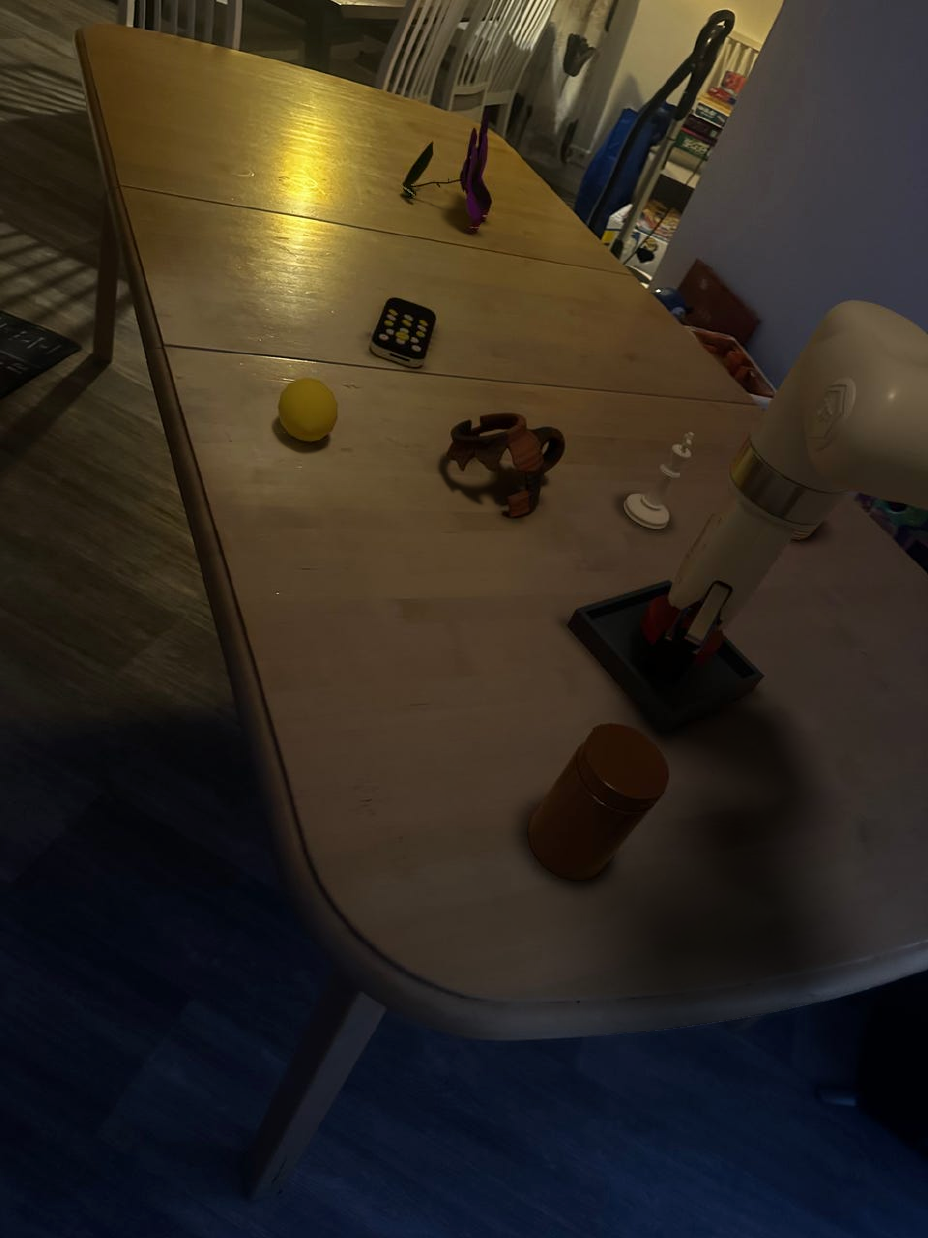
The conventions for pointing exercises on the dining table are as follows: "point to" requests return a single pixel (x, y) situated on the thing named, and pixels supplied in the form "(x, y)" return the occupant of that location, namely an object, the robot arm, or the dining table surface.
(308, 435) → the lemon
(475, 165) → the flower
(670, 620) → the jar lid
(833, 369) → the robot arm
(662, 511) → the chess piece
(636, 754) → the jar
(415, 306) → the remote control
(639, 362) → the dining table surface
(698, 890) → the dining table surface
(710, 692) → the tray
